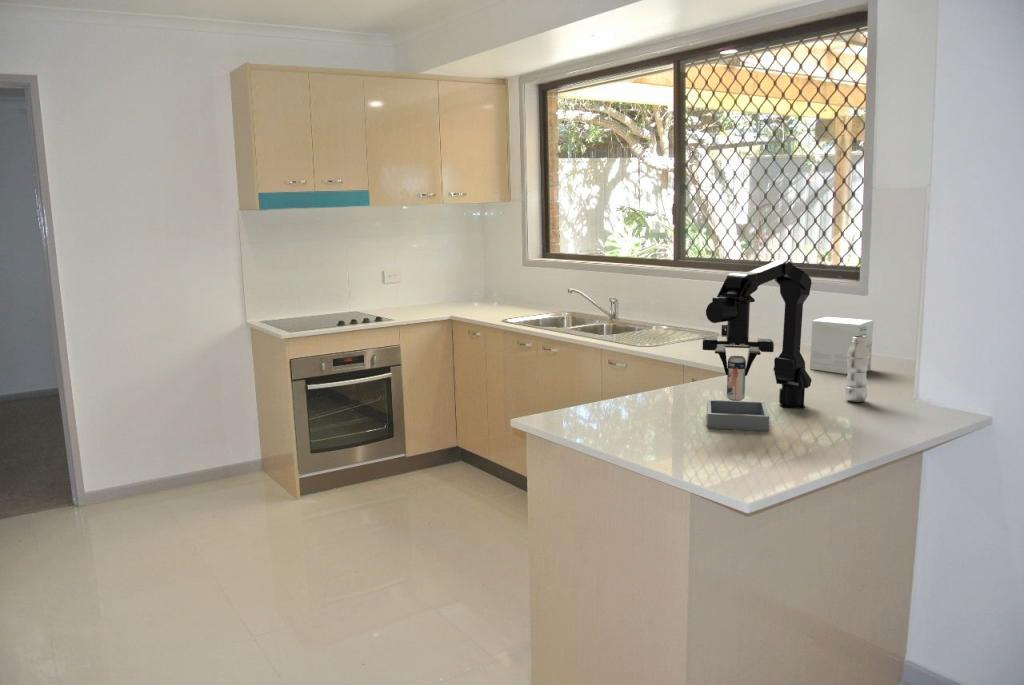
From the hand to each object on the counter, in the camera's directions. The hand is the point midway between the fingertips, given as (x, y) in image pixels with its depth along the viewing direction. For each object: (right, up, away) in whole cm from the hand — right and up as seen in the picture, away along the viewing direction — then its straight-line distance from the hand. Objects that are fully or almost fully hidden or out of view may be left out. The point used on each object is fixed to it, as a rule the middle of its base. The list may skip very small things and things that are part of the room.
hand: (736, 375), depth 224 cm
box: (0, -13, +1) cm, 13 cm away
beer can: (0, -7, +1) cm, 7 cm away
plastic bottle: (+42, -9, +21) cm, 48 cm away
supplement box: (+55, -1, +66) cm, 86 cm away
